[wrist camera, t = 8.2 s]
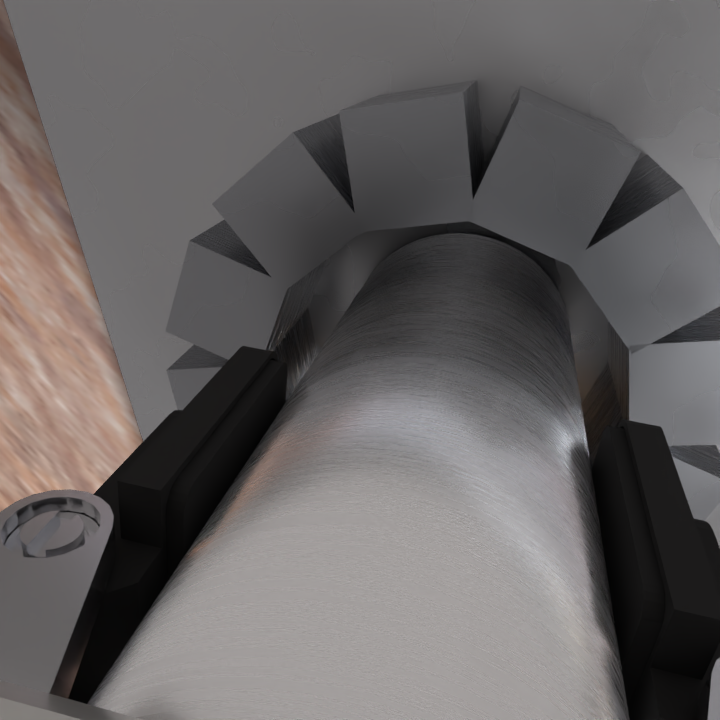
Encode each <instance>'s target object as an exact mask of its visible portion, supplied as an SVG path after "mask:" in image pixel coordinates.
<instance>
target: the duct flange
mask: <svg viewBox="0 0 720 720" xmlns="http://www.w3.org/2000/svg"><path fill="white" fill-rule="evenodd" d="M3 1H4V4H5V7H6V10H7V13H8V17H9V20H10V23H11V26H12V29H13V32H14V35H15V39H16V42H17V45H18V48H19V51H20V54H21V57H22V61H23V64H24V67H25V70H26V73H27V76H28V80H29V83H30V86H31V89H32V92H33V95H34V98H35V102H36V105H37V108H38V111H39V114H40V117H41V121H42V124H43V127H44V130H45V133H46V136H47V139H48V143H49V146H50V149H51V152H52V155H53V158H54V162H55V165H56V168H57V171H58V174H59V177H60V180H61V184H62V187H63V190H64V193H65V196H66V199H67V203H68V206H69V209H70V212H71V215H72V218H73V221H74V225H75V228H76V231H77V234H78V237H79V240H80V243H81V247H82V250H83V253H84V256H85V259H86V262H87V266H88V269H89V272H90V275H91V278H92V281H93V284H94V288H95V291H96V294H97V297H98V300H99V303H100V307H101V310H102V313H103V316H104V319H105V322H106V325H107V329H108V332H109V335H110V338H111V341H112V344H113V348H114V351H115V354H116V357H117V360H118V363H119V366H120V370H121V373H122V376H123V379H124V382H125V385H126V389H127V392H128V395H129V398H130V401H131V404H132V407H133V411H134V414H135V417H136V420H137V423H138V426H139V429H140V433H141V436H142V439H143V441H144V440H145V439H146V438H147V437H148V436H149V435H150V434H151V433H152V432H153V431H154V430H155V429H156V428H157V427H158V426H159V425H160V424H161V422H162V421H163V420H164V419H165V418H166V417H167V416H168V415H169V414H170V413H172V412H173V411H174V410H183V409H184V408H185V407H186V406H187V405H188V404H189V403H190V401H191V400H192V399H193V398H194V397H195V396H196V395H197V394H198V393H199V392H200V391H201V390H202V388H203V387H204V386H205V385H206V384H207V383H208V382H209V381H210V380H211V379H212V378H213V377H214V375H215V374H216V373H217V372H218V371H219V370H220V369H221V368H222V367H223V366H224V365H225V364H226V362H227V361H228V360H229V359H230V358H231V357H232V356H233V355H234V354H235V353H236V352H237V351H238V349H239V348H240V347H242V346H247V347H252V348H258V349H263V350H268V351H273V352H276V354H277V357H278V361H280V362H285V363H286V364H287V386H286V401H287V400H288V398H289V397H290V395H291V394H292V392H293V391H294V389H295V388H296V386H297V385H298V383H299V382H300V380H301V379H302V377H303V376H304V374H305V372H306V371H307V369H308V368H309V366H310V365H311V363H312V362H313V360H314V359H315V357H316V356H317V354H318V353H319V351H320V350H321V348H322V347H323V345H324V344H325V342H326V341H327V339H328V338H329V336H330V335H331V333H332V332H333V330H334V329H335V327H336V325H337V324H338V322H339V321H340V319H341V318H342V316H343V315H344V313H345V312H346V310H347V309H348V307H349V306H350V304H351V303H352V301H353V300H354V298H355V297H356V295H357V294H358V292H359V291H360V289H361V288H362V286H363V285H364V283H365V282H366V280H367V279H368V277H369V276H370V274H371V273H372V272H373V271H374V270H375V268H376V267H377V266H378V265H379V264H380V263H381V262H382V261H383V260H385V259H386V258H387V257H388V256H390V255H391V254H392V253H394V252H395V251H397V250H399V249H400V248H402V247H403V246H406V245H408V244H410V243H412V242H414V241H417V240H420V239H423V238H427V237H430V236H435V235H441V234H453V233H464V234H474V235H480V236H484V237H489V238H492V239H495V240H498V241H501V242H503V243H506V244H508V245H510V246H512V247H514V248H515V249H517V250H519V251H521V252H522V253H524V254H525V255H526V256H528V257H529V258H531V259H532V260H533V261H534V262H535V263H536V264H537V265H538V266H540V267H541V268H542V269H543V270H544V272H545V273H546V274H547V275H548V277H549V278H550V279H551V280H552V282H553V283H554V285H555V287H556V288H557V290H558V292H559V293H560V296H561V298H562V300H563V303H564V305H565V308H566V312H567V316H568V320H569V326H570V332H571V339H572V345H573V352H574V359H575V365H576V372H577V378H578V385H579V392H580V398H581V405H582V411H583V418H584V424H585V431H586V438H587V444H588V451H589V457H590V464H591V470H592V466H593V463H594V460H595V457H596V453H597V450H598V447H599V444H600V440H601V437H602V434H603V431H604V429H605V427H606V426H612V427H618V425H619V423H620V421H621V420H622V419H624V420H629V421H635V422H640V423H645V424H650V425H655V426H660V427H661V428H662V429H663V432H664V435H665V438H666V441H667V443H668V446H669V449H670V452H671V455H672V458H673V461H674V464H675V466H676V469H677V472H678V475H679V478H680V481H681V484H682V487H683V489H684V492H685V495H686V498H687V501H688V504H689V507H690V510H691V512H692V515H693V518H694V519H699V520H704V521H706V522H708V523H709V524H710V526H711V528H712V529H713V531H714V534H715V537H716V539H717V542H718V545H719V547H720V0H3ZM285 403H286V402H285Z"/></svg>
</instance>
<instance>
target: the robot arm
mask: <svg viewBox="0 0 720 720" xmlns="http://www.w3.org/2000/svg"><path fill="white" fill-rule="evenodd" d="M286 386H287V364H286V363H285V362H280V361H278V357H277V354H276V352H273V351H268V350H263V349H258V348H252V347H247V346H242V347H240V348H239V349H238V351H237V352H236V353H235V354H234V355H233V356H232V357H231V358H230V359H229V360H228V361H227V362H226V364H225V365H224V366H223V367H222V368H221V369H220V370H219V371H218V372H217V373H216V374H215V375H214V377H213V378H212V379H211V380H210V381H209V382H208V383H207V384H206V385H205V386H204V387H203V388H202V390H201V391H200V392H199V393H198V394H197V395H196V396H195V397H194V398H193V399H192V400H191V401H190V403H189V404H188V405H187V406H186V407H185V408H184V409H183V410H174V411H173V412H172V413H170V414H169V415H168V416H167V417H166V418H165V419H164V420H163V421H162V422H161V424H160V425H159V426H158V427H157V428H156V429H155V430H154V431H153V432H152V433H151V434H150V435H149V436H148V437H147V438H146V439H145V440H144V441H143V443H142V444H141V445H140V446H139V447H138V448H137V449H136V450H135V451H134V452H133V453H132V454H131V455H130V456H129V457H128V458H127V459H126V460H125V462H124V463H123V464H122V465H121V466H120V467H119V468H118V469H117V470H116V471H115V472H114V473H113V474H112V475H111V476H110V477H109V478H108V479H107V481H106V482H105V483H104V484H103V485H102V486H101V487H100V488H99V489H98V490H97V491H96V492H95V493H94V494H91V493H88V492H84V491H77V490H51V491H47V492H43V493H38V494H34V495H31V496H29V497H26V498H24V499H21V500H19V501H17V502H15V503H13V504H12V505H10V506H9V507H7V508H6V509H4V510H3V511H1V512H0V720H142V719H139V718H135V717H132V716H128V715H124V714H121V713H117V712H114V711H110V710H106V709H103V708H99V707H96V706H92V705H88V704H87V703H88V702H89V700H90V699H91V697H92V696H93V694H94V692H95V691H96V689H97V688H98V686H99V685H100V683H101V682H102V680H103V679H104V677H105V676H106V674H107V673H108V671H109V670H110V668H111V667H112V665H113V664H114V662H115V661H116V659H117V658H118V656H119V655H120V653H121V652H122V650H123V648H124V647H125V645H126V644H127V642H128V641H129V639H130V638H131V636H132V635H133V633H134V632H135V630H136V629H137V627H138V626H139V624H140V623H141V621H142V620H143V618H144V617H145V615H146V614H147V612H148V611H149V609H150V608H151V606H152V605H153V603H154V601H155V600H156V598H157V597H158V595H159V594H160V592H161V591H162V589H163V588H164V586H165V585H166V583H167V582H168V580H169V579H170V577H171V576H172V574H173V573H174V571H175V570H176V568H177V567H178V565H179V564H180V562H181V561H182V559H183V558H184V556H185V554H186V553H187V551H188V550H189V548H190V547H191V545H192V544H193V542H194V541H195V539H196V538H197V536H198V535H199V533H200V532H201V530H202V529H203V527H204V526H205V524H206V523H207V521H208V520H209V518H210V517H211V515H212V514H213V512H214V510H215V509H216V507H217V506H218V504H219V503H220V501H221V500H222V498H223V497H224V495H225V494H226V492H227V491H228V489H229V488H230V486H231V485H232V483H233V482H234V480H235V479H236V477H237V476H238V474H239V473H240V471H241V470H242V468H243V467H244V465H245V463H246V462H247V460H248V459H249V457H250V456H251V454H252V453H253V451H254V450H255V448H256V447H257V445H258V444H259V442H260V441H261V439H262V438H263V436H264V435H265V433H266V432H267V430H268V429H269V427H270V426H271V424H272V423H273V421H274V420H275V418H276V416H277V415H278V413H279V412H280V410H281V409H282V407H283V406H284V404H285V402H286ZM592 477H593V484H594V490H595V497H596V503H597V510H598V516H599V523H600V530H601V536H602V543H603V549H604V556H605V563H606V569H607V576H608V582H609V589H610V595H611V602H612V609H613V615H614V622H615V628H616V635H617V641H618V648H619V655H620V661H621V668H622V674H623V681H624V687H625V694H626V701H627V707H628V714H629V720H720V547H719V545H718V542H717V539H716V537H715V534H714V531H713V529H712V528H711V526H710V524H709V523H708V522H706V521H704V520H699V519H694V518H693V515H692V512H691V510H690V507H689V504H688V501H687V498H686V495H685V492H684V489H683V487H682V484H681V481H680V478H679V475H678V472H677V469H676V466H675V464H674V461H673V458H672V455H671V452H670V449H669V446H668V443H667V441H666V438H665V435H664V432H663V429H662V428H661V427H660V426H655V425H650V424H645V423H640V422H635V421H629V420H624V419H622V420H621V421H620V423H619V425H618V427H612V426H606V427H605V429H604V431H603V434H602V437H601V440H600V444H599V447H598V450H597V453H596V457H595V460H594V463H593V466H592Z"/></svg>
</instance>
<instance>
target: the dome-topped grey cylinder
mask: <svg viewBox="0 0 720 720" xmlns="http://www.w3.org/2000/svg"><path fill="white" fill-rule="evenodd" d="M87 704H88V705H92V706H96V707H99V708H103V709H106V710H110V711H114V712H117V713H121V714H124V715H128V716H132V717H135V718H139V719H142V720H629V714H628V707H627V701H626V694H625V687H624V681H623V674H622V668H621V661H620V655H619V648H618V641H617V635H616V628H615V622H614V615H613V609H612V602H611V595H610V589H609V582H608V576H607V569H606V563H605V556H604V549H603V543H602V536H601V530H600V523H599V516H598V510H597V503H596V497H595V490H594V484H593V477H592V470H591V464H590V457H589V451H588V444H587V438H586V431H585V424H584V418H583V411H582V405H581V398H580V392H579V385H578V378H577V372H576V365H575V359H574V352H573V345H572V339H571V332H570V326H569V320H568V316H567V312H566V308H565V305H564V303H563V300H562V298H561V296H560V293H559V292H558V290H557V288H556V287H555V285H554V283H553V282H552V280H551V279H550V278H549V277H548V275H547V274H546V273H545V272H544V270H543V269H542V268H541V267H540V266H538V265H537V264H536V263H535V262H534V261H533V260H532V259H531V258H529V257H528V256H526V255H525V254H524V253H522V252H521V251H519V250H517V249H515V248H514V247H512V246H510V245H508V244H506V243H503V242H501V241H498V240H495V239H492V238H489V237H484V236H480V235H474V234H464V233H453V234H441V235H435V236H430V237H427V238H423V239H420V240H417V241H414V242H412V243H410V244H408V245H406V246H403V247H402V248H400V249H399V250H397V251H395V252H394V253H392V254H391V255H390V256H388V257H387V258H386V259H385V260H383V261H382V262H381V263H380V264H379V265H378V266H377V267H376V268H375V270H374V271H373V272H372V273H371V274H370V276H369V277H368V279H367V280H366V282H365V283H364V285H363V286H362V288H361V289H360V291H359V292H358V294H357V295H356V297H355V298H354V300H353V301H352V303H351V304H350V306H349V307H348V309H347V310H346V312H345V313H344V315H343V316H342V318H341V319H340V321H339V322H338V324H337V325H336V327H335V329H334V330H333V332H332V333H331V335H330V336H329V338H328V339H327V341H326V342H325V344H324V345H323V347H322V348H321V350H320V351H319V353H318V354H317V356H316V357H315V359H314V360H313V362H312V363H311V365H310V366H309V368H308V369H307V371H306V372H305V374H304V376H303V377H302V379H301V380H300V382H299V383H298V385H297V386H296V388H295V389H294V391H293V392H292V394H291V395H290V397H289V398H288V400H287V401H286V403H285V404H284V406H283V407H282V409H281V410H280V412H279V413H278V415H277V416H276V418H275V420H274V421H273V423H272V424H271V426H270V427H269V429H268V430H267V432H266V433H265V435H264V436H263V438H262V439H261V441H260V442H259V444H258V445H257V447H256V448H255V450H254V451H253V453H252V454H251V456H250V457H249V459H248V460H247V462H246V463H245V465H244V467H243V468H242V470H241V471H240V473H239V474H238V476H237V477H236V479H235V480H234V482H233V483H232V485H231V486H230V488H229V489H228V491H227V492H226V494H225V495H224V497H223V498H222V500H221V501H220V503H219V504H218V506H217V507H216V509H215V510H214V512H213V514H212V515H211V517H210V518H209V520H208V521H207V523H206V524H205V526H204V527H203V529H202V530H201V532H200V533H199V535H198V536H197V538H196V539H195V541H194V542H193V544H192V545H191V547H190V548H189V550H188V551H187V553H186V554H185V556H184V558H183V559H182V561H181V562H180V564H179V565H178V567H177V568H176V570H175V571H174V573H173V574H172V576H171V577H170V579H169V580H168V582H167V583H166V585H165V586H164V588H163V589H162V591H161V592H160V594H159V595H158V597H157V598H156V600H155V601H154V603H153V605H152V606H151V608H150V609H149V611H148V612H147V614H146V615H145V617H144V618H143V620H142V621H141V623H140V624H139V626H138V627H137V629H136V630H135V632H134V633H133V635H132V636H131V638H130V639H129V641H128V642H127V644H126V645H125V647H124V648H123V650H122V652H121V653H120V655H119V656H118V658H117V659H116V661H115V662H114V664H113V665H112V667H111V668H110V670H109V671H108V673H107V674H106V676H105V677H104V679H103V680H102V682H101V683H100V685H99V686H98V688H97V689H96V691H95V692H94V694H93V696H92V697H91V699H90V700H89V702H88V703H87Z"/></svg>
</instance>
